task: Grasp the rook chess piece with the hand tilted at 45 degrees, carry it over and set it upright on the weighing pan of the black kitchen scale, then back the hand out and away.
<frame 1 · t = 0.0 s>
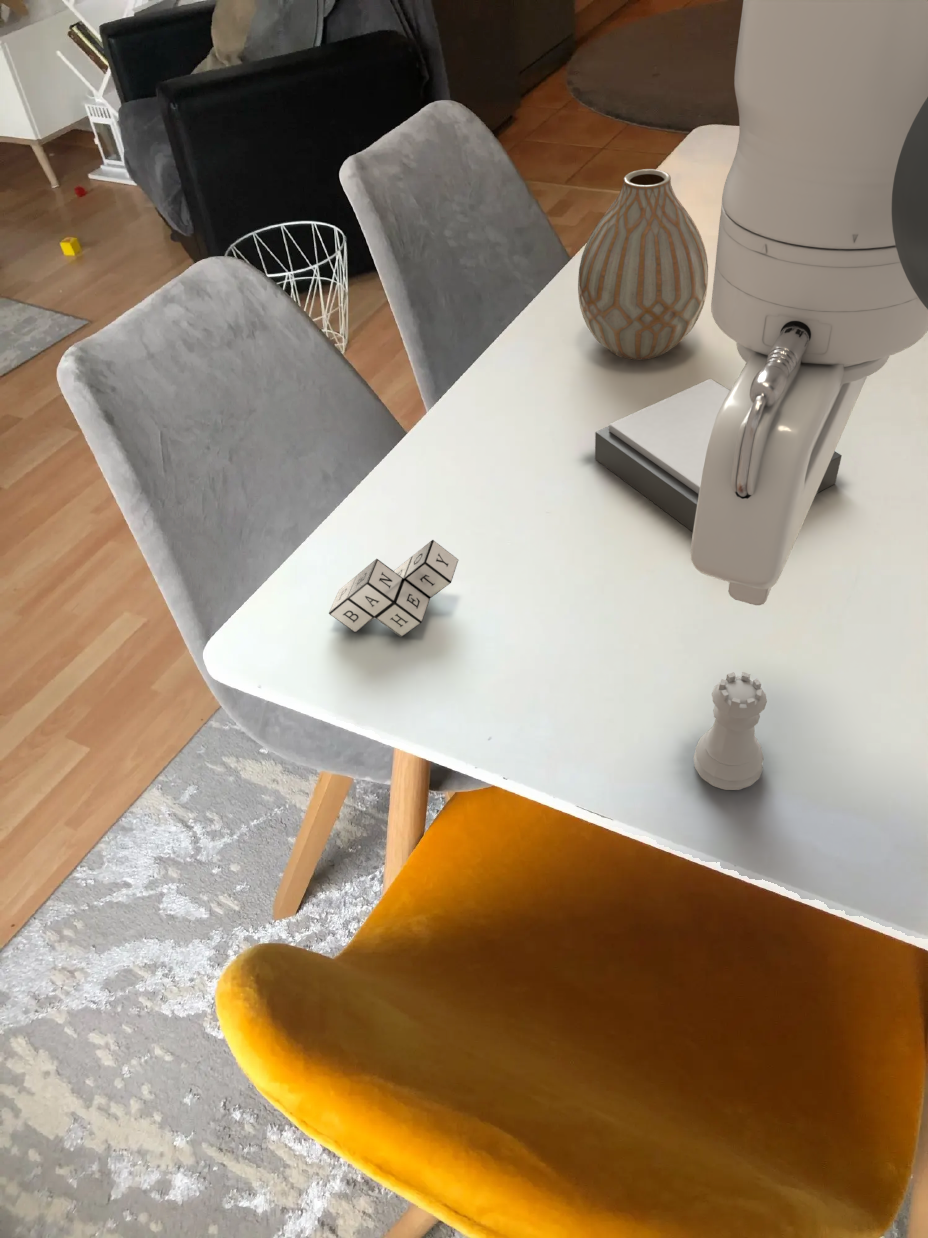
hand: (776, 534, 49), 21 cm above the table, tool pointing down, fingers open, 8 cm apart
kitchen scale: (711, 470, 87), on the table
vase: (639, 346, 103), on the table
building blocks: (398, 614, 77), on the table
rook chess piece: (726, 768, 64), on the table
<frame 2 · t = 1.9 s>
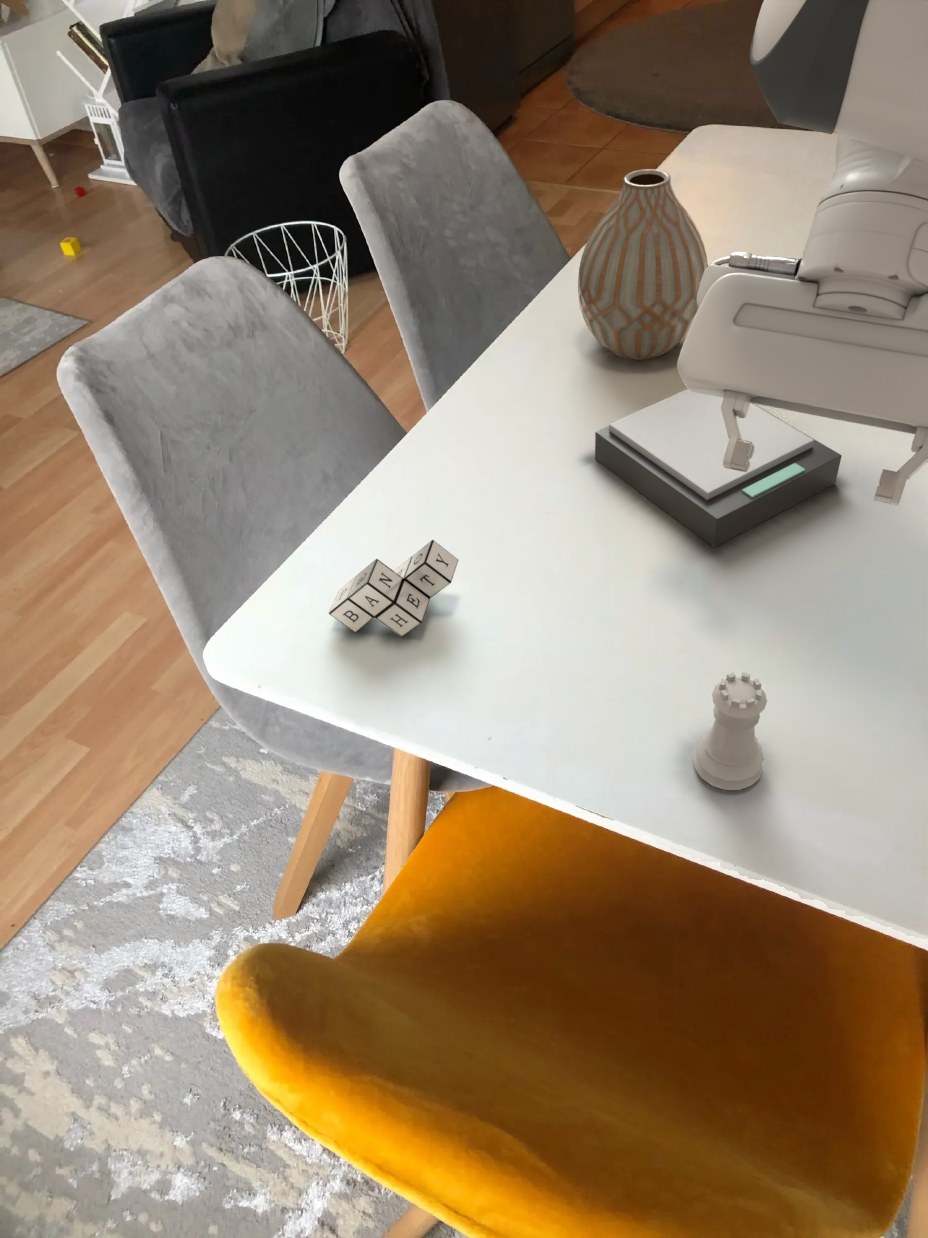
hand: (808, 485, 61), 15 cm above the table, tool tilted 45°, fingers open, 8 cm apart
nothing on the table moved.
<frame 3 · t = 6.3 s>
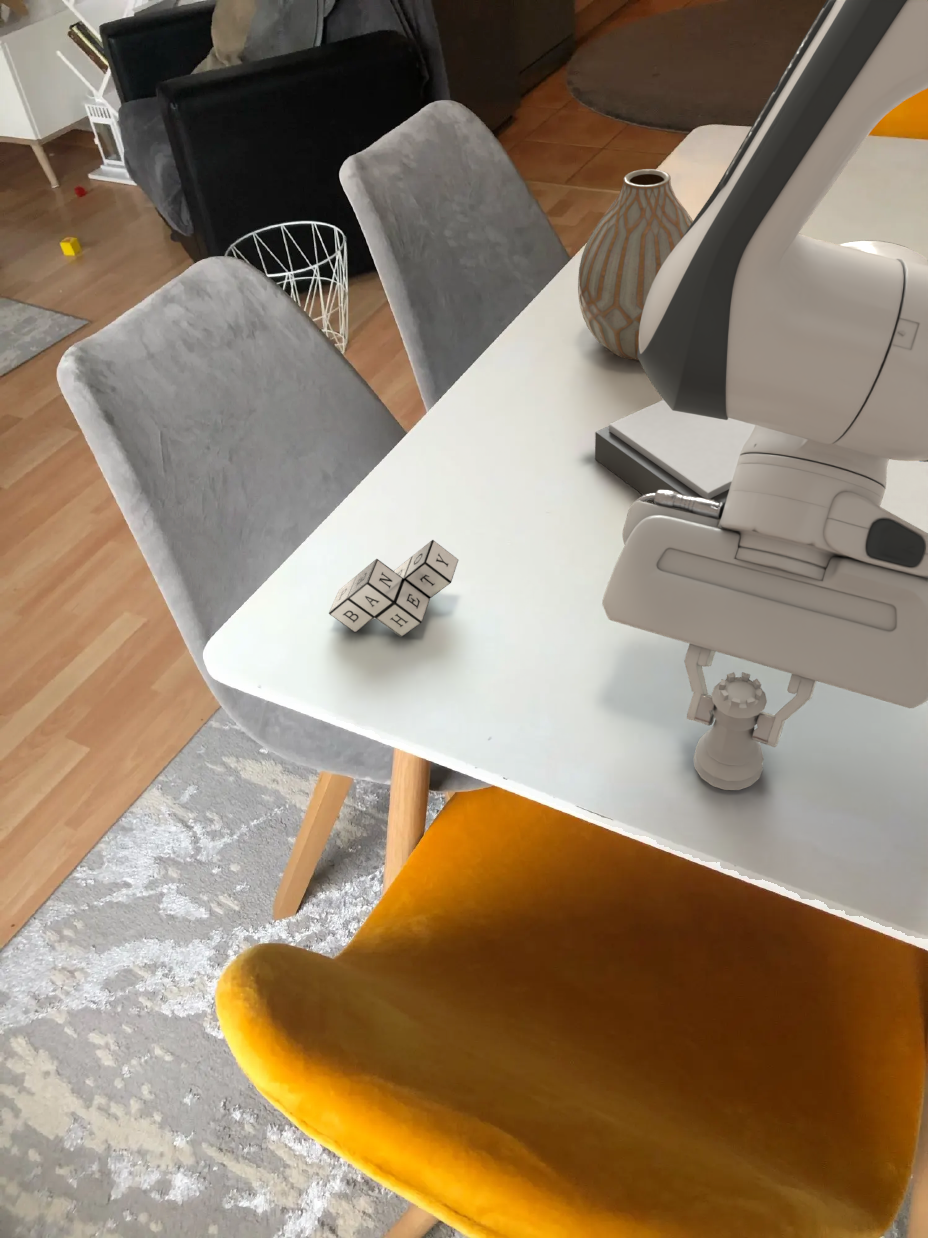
hand: (731, 732, 60), 4 cm above the table, tool tilted 45°, fingers closed on rook chess piece, 3 cm apart
rook chess piece: (726, 768, 64), on the table, touching gripper
everything else where it was.
when the fingers open (8 cm above the table, at t = 15.3 s): rook chess piece stays where it is, resting on kitchen scale.
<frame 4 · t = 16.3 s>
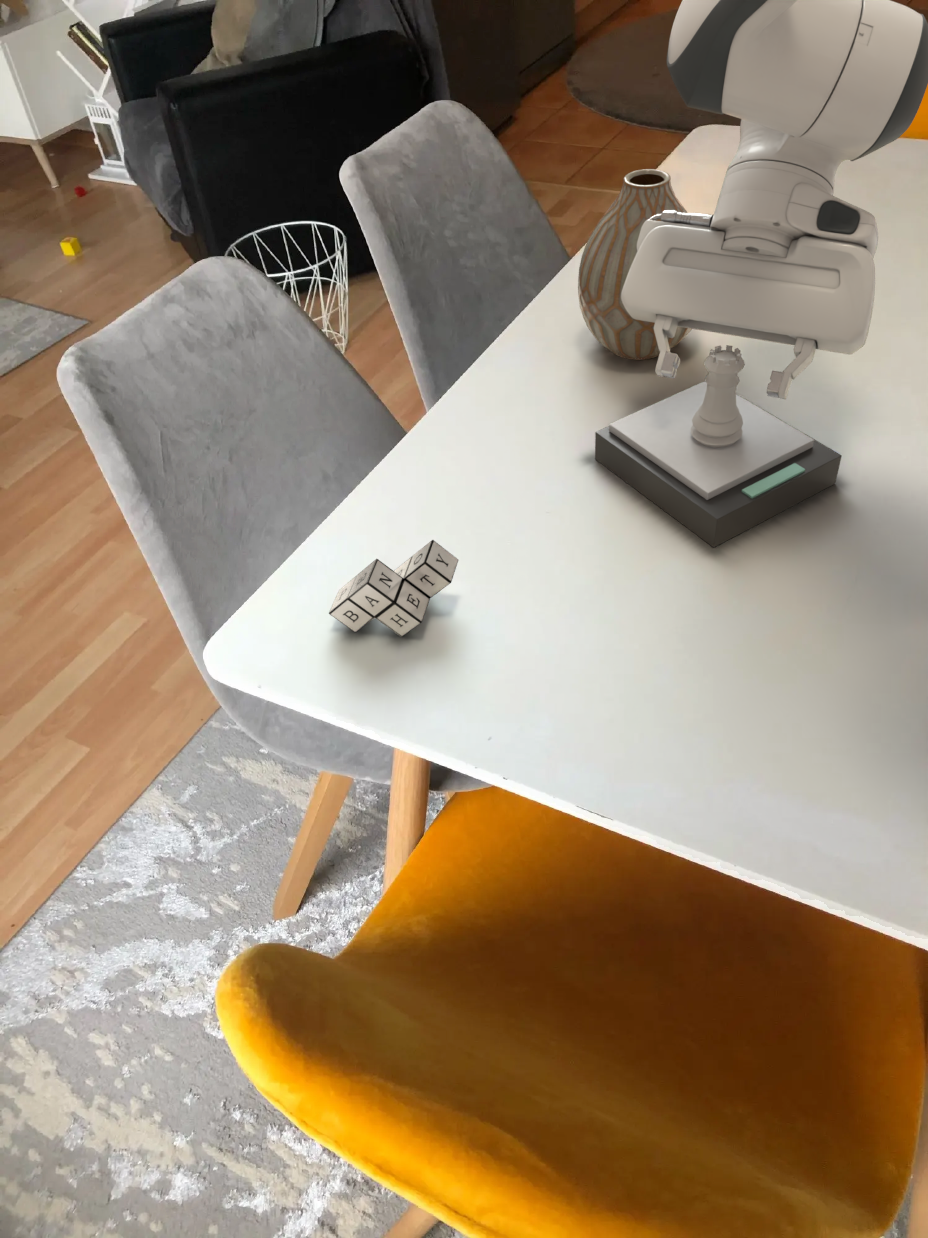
hand: (718, 385, 80), 9 cm above the table, tool tilted 45°, fingers open, 8 cm apart
rook chess piece: (715, 437, 84), point 4 cm above the table, touching kitchen scale
everything else where it was.
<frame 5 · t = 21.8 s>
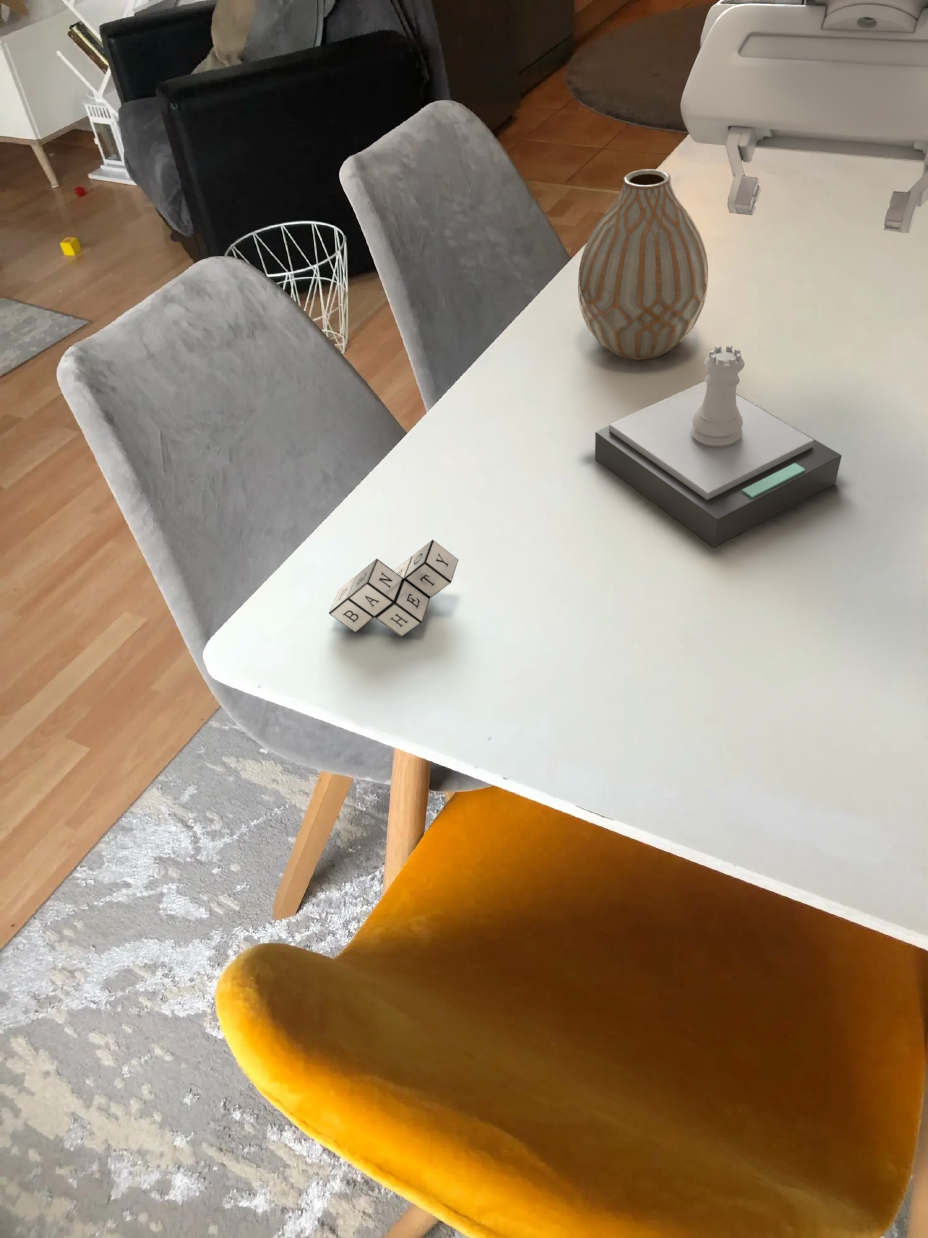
hand: (815, 219, 59), 27 cm above the table, tool tilted 45°, fingers open, 8 cm apart
nothing on the table moved.
at the end: rook chess piece inside the target area on the kitchen scale (0.0 cm from its centre), point 3.6 cm above the kitchen scale's base; rook chess piece tilted 0°; the gripper is holding nothing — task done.
